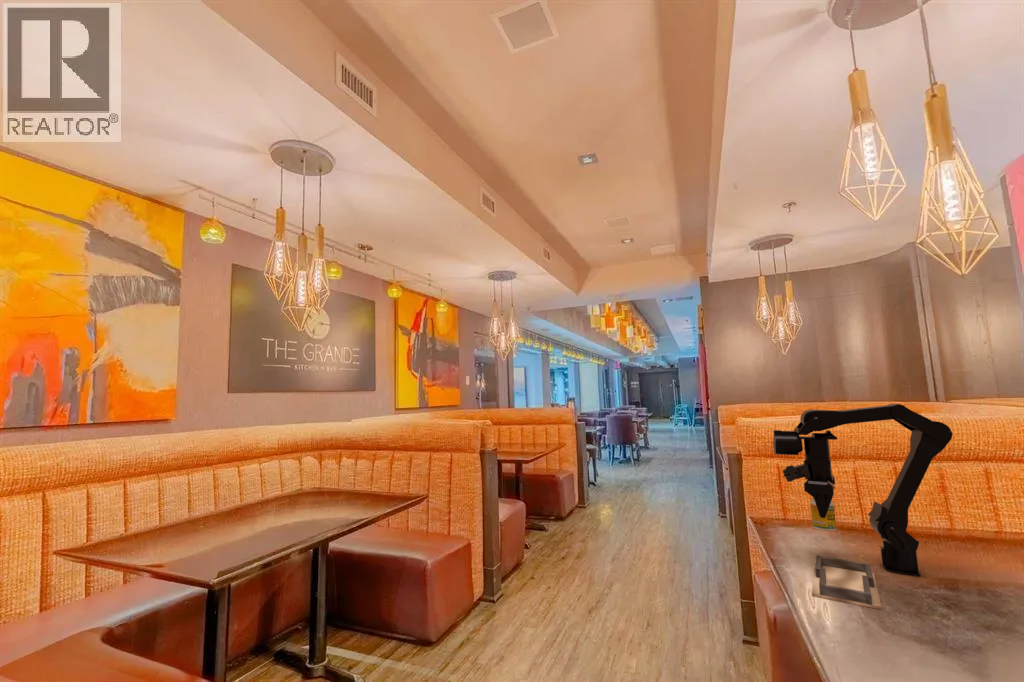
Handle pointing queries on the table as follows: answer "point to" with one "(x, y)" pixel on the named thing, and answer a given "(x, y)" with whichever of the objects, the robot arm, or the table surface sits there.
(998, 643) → the table surface
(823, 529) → the supplement bottle
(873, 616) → the table surface
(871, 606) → the grey flat frame
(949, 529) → the table surface
